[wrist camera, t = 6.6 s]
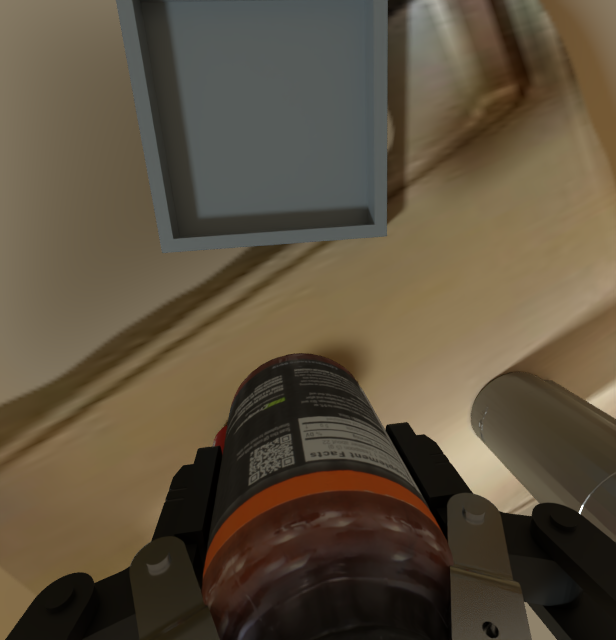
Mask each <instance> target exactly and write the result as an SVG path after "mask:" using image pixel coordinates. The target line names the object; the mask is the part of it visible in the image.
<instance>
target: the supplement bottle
mask: <svg viewBox="0 0 616 640" xmlns="http://www.w3.org/2000/svg"><path fill="white" fill-rule="evenodd" d="M453 564H454V562H453V557H452V553H451V550H450V548H449V545H448V542H447V540H446V538H445V536H444V535H443V533H442V531H441V529H440V527H439V525H438V524H437V522H436V520H435V518H434V516H433V515H432V513H431V511H430V509H429V507H428V505H427V503H426V501H425V500H424V498H423V496H422V494H421V493H420V491H419V489H418V487H417V486H416V484H415V482H414V480H413V479H412V477H411V475H410V473H409V471H408V470H407V468H406V466H405V464H404V462H403V461H402V459H401V457H400V455H399V454H398V452H397V450H396V448H395V447H394V445H393V443H392V441H391V439H390V438H389V436H388V434H387V432H386V430H385V429H384V427H383V425H382V423H381V422H380V420H379V418H378V416H377V415H376V413H375V411H374V409H373V407H372V406H371V404H370V402H369V400H368V398H367V397H366V395H365V393H364V391H363V390H362V388H361V387H360V386H359V384H358V382H357V381H356V380H355V378H354V377H353V375H352V374H351V373H350V372H349V371H348V370H346V369H345V368H344V367H343V366H341V365H340V364H338V363H336V362H334V361H333V360H330V359H328V358H325V357H322V356H318V355H313V354H303V353H299V354H290V355H286V356H282V357H278V358H275V359H272V360H270V361H268V362H266V363H265V364H262V365H261V366H260V367H258V368H257V369H255V370H254V371H253V372H252V373H251V374H250V375H248V377H247V378H246V379H245V380H244V381H243V382H242V384H241V385H240V387H239V388H238V390H237V392H236V394H235V397H234V399H233V402H232V405H231V409H230V413H229V419H228V424H227V430H226V437H225V443H224V449H223V455H222V462H221V467H220V474H219V479H218V485H217V491H216V498H215V505H214V510H213V515H212V521H211V528H210V533H209V539H208V547H207V554H206V560H205V566H204V571H203V579H202V588H201V593H202V596H203V602H204V604H205V605H208V608H209V610H210V613H211V616H212V618H213V621H214V624H215V627H216V630H217V633H218V636H219V639H220V640H448V639H447V613H448V589H449V565H453Z"/></svg>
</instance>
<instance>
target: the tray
mask: <svg viewBox="0 0 616 640" xmlns="http://www.w3.org/2000/svg"><path fill="white" fill-rule="evenodd" d="M116 2H117V8H118V14H119V19H120V25H121V30H122V36H123V41H124V47H125V52H126V58H127V63H128V68H129V74H130V79H131V85H132V90H133V96H134V101H135V107H136V112H137V117H138V123H139V129H140V134H141V139H142V145H143V150H144V156H145V161H146V167H147V171H148V178H149V183H150V188H151V194H152V199H153V204H154V210H155V215H156V221H157V227H158V232H159V238H160V243H161V248H162V253H168V252H181V251H195V250H207V249H221V248H235V247H248V246H262V245H275V244H289V243H302V242H316V241H329V240H343V239H356V238H370V237H383V236H387V48H388V0H116Z"/></svg>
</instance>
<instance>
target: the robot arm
mask: <svg viewBox="0 0 616 640" xmlns="http://www.w3.org/2000/svg"><path fill="white" fill-rule="evenodd" d="M471 424H472V428H473V430H474V432H475V433H476V435H477V436H478V437H479V438H480V439H481V441H482V442H483V443H484V444H485V445H486V446H487V447H488V448H489V449H490V450H491V451H492V452H493V453H494V455H495V456H496V457H497V458H498V459H499V460H500V461H501V462H502V463H503V464H504V466H505V467H506V468H507V469H508V470H509V471H510V472H511V473H512V474H513V475H514V476H515V477H516V479H517V480H518V481H519V482H520V483H521V484H522V485H523V486H524V487H525V488H526V489H527V490H528V491H529V493H530V494H531V495H532V496H533V497H534V498H535V499H536V500H537V501H538V502H539V503H540V504H538V505H536V506H535V507H534V509H533V511H532V516H524V515H517V514H509V513H503V512H500V511H498V509H497V508H496V506H495V505H494V504H493V503H491V502H490V501H489V500H487V499H485V498H484V497H481V496H479V495H476V494H473V493H472V491H471V490H470V489H469V487H468V486H467V485H466V483H465V482H464V480H463V479H462V478H461V476H460V475H459V474H458V472H457V471H456V469H455V468H454V467H453V465H452V464H451V463H450V462H449V460H448V458H447V457H446V456H445V455H444V454H443V452H442V450H441V449H440V447H439V446H438V445H437V443H436V442H434V441H433V440H432V439H430V438H429V437H427V436H426V435H424V434H423V435H416V434H415V433H414V431H413V430H412V428H411V427H410V425H409V424H408V423H407V422H404V423H396V424H389V425H387V426H386V432H387V434H388V436H389V438H390V439H391V441H392V443H393V445H394V447H395V448H396V450H397V452H398V454H399V455H400V457H401V459H402V461H403V462H404V464H405V466H406V468H407V470H408V471H409V473H410V475H411V477H412V479H413V480H414V482H415V484H416V486H417V487H418V489H419V491H420V493H421V494H422V496H423V498H424V500H425V501H426V503H427V505H428V507H429V509H430V511H431V513H432V515H433V516H434V518H435V520H436V522H437V524H438V525H439V527H440V529H441V531H442V533H443V535H444V536H445V538H446V540H447V542H448V545H449V548H450V550H451V553H452V557H453V562H454V564H453V565H449V589H448V613H447V639H448V640H532V639H531V634H530V629H529V624H528V619H527V614H526V609H525V604H524V602H527V603H528V604H529V606H530V607H531V608H532V609H533V611H534V612H535V613H536V614H537V615H538V617H539V618H540V619H541V620H542V622H543V623H544V624H545V625H546V626H547V628H548V629H549V630H550V631H551V633H552V634H553V635H554V636H555V638H556V639H557V640H616V419H615V418H613V417H612V416H610V415H608V414H607V413H605V412H603V411H602V410H600V409H598V408H597V407H595V406H593V405H592V404H590V403H588V402H587V401H585V400H583V399H582V398H580V397H579V396H577V395H575V394H574V393H572V392H570V391H569V390H567V389H565V388H564V387H562V386H560V385H559V384H557V383H555V382H554V381H544V380H542V379H540V378H539V377H537V376H536V375H533V374H530V373H526V372H514V373H509V374H506V375H502V376H500V377H498V378H497V379H495V380H493V381H492V382H490V383H489V384H488V385H487V386H486V387H485V388H484V389H483V390H482V391H481V392H480V393H479V395H478V396H477V398H476V400H475V402H474V404H473V407H472V411H471ZM221 462H222V450H221V447H220V446H212V447H205V448H199V449H198V450H197V454H196V457H195V461H194V464H190V465H183V466H182V467H181V469H180V470H179V471H178V472H177V473H176V474H175V476H174V477H173V479H172V482H171V485H170V488H169V492H168V494H167V497H166V502H165V503H164V506H163V509H162V512H161V514H160V517H159V520H158V523H157V526H156V529H155V532H154V535H153V538H152V541H151V542H150V543H148V544H147V545H145V546H144V547H143V548H142V549H141V550H140V551H139V552H138V553H137V554H136V556H135V557H134V559H133V560H132V562H131V565H130V567H128V568H127V569H125V570H123V571H121V572H119V573H117V574H114V575H112V576H110V577H107V578H105V579H103V580H100V581H98V582H96V583H94V581H93V578H92V577H91V576H90V575H88V574H86V573H80V572H79V573H72V574H69V575H66V576H63V577H61V578H59V579H58V580H56V581H54V582H53V583H51V584H50V585H49V586H47V587H46V588H45V589H44V590H43V591H42V592H41V593H40V594H39V595H38V596H37V597H36V598H35V599H34V601H33V602H32V603H31V605H30V606H29V607H28V609H27V610H26V612H25V613H24V614H23V616H22V617H21V619H20V620H19V621H18V623H17V624H16V625H15V627H14V628H13V630H12V631H11V632H10V634H9V635H8V637H7V638H6V639H5V640H220V639H219V636H218V633H217V630H216V627H215V624H214V621H213V618H212V616H211V613H210V610H209V608H208V605H205V604H204V602H203V596H202V593H201V588H202V579H203V571H204V566H205V560H206V554H207V547H208V539H209V533H210V528H211V521H212V515H213V510H214V505H215V498H216V491H217V485H218V479H219V474H220V467H221Z"/></svg>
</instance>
